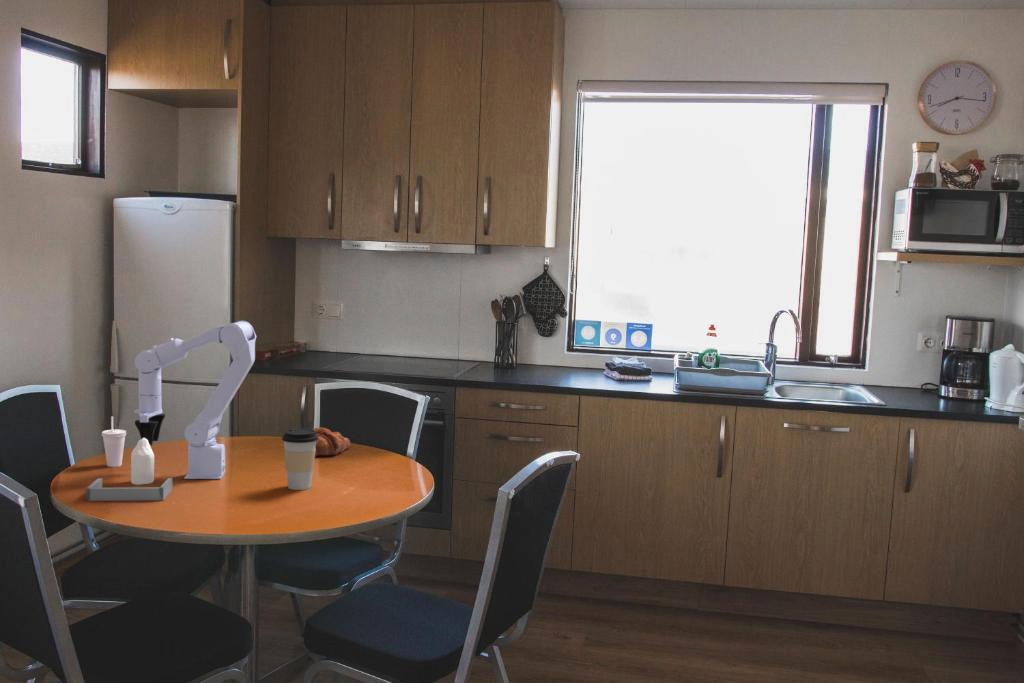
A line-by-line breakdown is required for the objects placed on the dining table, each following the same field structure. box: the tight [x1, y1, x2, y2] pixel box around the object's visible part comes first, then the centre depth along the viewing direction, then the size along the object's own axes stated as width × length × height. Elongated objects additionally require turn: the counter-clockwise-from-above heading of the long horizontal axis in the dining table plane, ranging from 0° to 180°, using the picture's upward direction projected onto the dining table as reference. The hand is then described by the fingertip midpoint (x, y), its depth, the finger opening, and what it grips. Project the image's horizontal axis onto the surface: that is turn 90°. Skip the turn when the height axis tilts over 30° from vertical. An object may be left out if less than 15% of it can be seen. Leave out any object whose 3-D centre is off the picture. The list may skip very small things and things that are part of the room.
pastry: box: [312, 426, 351, 458], centre depth 279 cm, size 17×15×8 cm
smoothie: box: [101, 416, 127, 468], centre depth 254 cm, size 6×6×14 cm
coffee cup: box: [281, 427, 319, 491], centre depth 239 cm, size 9×9×15 cm
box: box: [85, 477, 173, 502], centre depth 227 cm, size 18×10×3 cm, turn 98°
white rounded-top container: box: [130, 438, 155, 486], centre depth 239 cm, size 6×12×6 cm
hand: (150, 443), depth 247 cm, fingers open, 6 cm apart
